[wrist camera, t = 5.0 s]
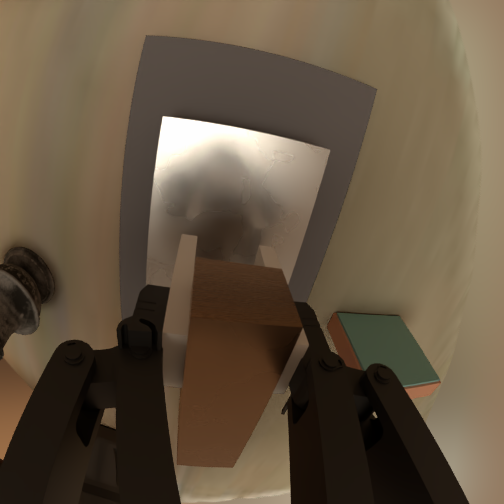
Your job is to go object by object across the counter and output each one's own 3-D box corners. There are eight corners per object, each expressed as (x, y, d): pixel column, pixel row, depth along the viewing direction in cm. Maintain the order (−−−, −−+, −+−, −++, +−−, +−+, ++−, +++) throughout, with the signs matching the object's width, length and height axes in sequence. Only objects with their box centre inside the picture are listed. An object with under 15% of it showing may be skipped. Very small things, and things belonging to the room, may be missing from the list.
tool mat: (125, 342, 22) (124, 348, 22) (148, 37, 12) (146, 35, 11) (278, 359, 25) (279, 364, 24) (372, 89, 14) (377, 89, 14)
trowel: (257, 356, 21) (277, 465, 13) (147, 345, 19) (130, 458, 12) (324, 147, 14) (434, 209, 7) (165, 115, 13) (94, 139, 5)
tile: (326, 326, 23) (359, 406, 16) (334, 310, 23) (371, 392, 16) (391, 328, 25) (430, 394, 18) (400, 314, 24) (442, 381, 17)
